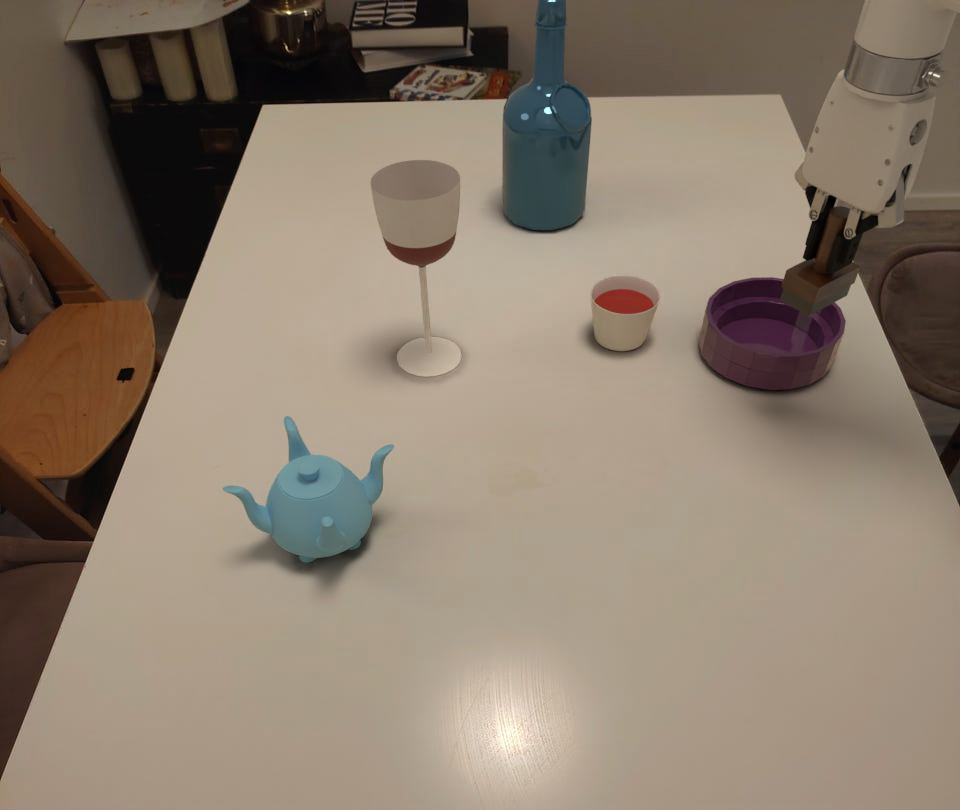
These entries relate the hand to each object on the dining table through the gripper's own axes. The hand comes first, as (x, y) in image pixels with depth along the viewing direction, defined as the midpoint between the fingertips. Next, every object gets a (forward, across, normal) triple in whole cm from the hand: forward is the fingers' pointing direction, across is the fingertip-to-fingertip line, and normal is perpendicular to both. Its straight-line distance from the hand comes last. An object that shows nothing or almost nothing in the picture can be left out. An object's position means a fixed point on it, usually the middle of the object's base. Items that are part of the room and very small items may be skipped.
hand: (826, 260), depth 91 cm
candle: (+20, +23, +6) cm, 31 cm away
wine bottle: (+20, +55, -7) cm, 59 cm away
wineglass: (+20, +35, +28) cm, 49 cm away
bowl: (+19, +9, -7) cm, 22 cm away
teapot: (+20, +16, +56) cm, 61 cm away
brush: (+4, 0, 0) cm, 4 cm away
